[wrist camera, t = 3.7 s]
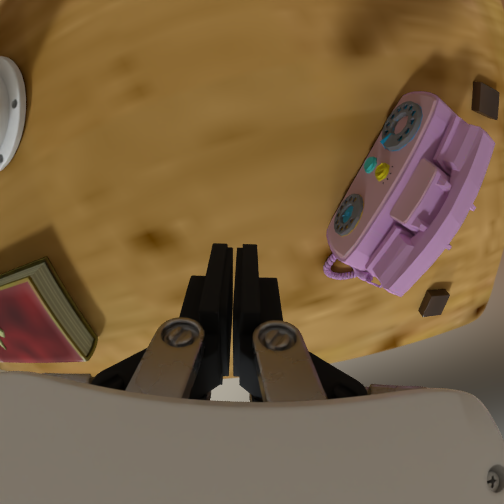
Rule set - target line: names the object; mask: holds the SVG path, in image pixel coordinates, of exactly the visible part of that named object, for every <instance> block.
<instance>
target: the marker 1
mask: <svg viewBox="0 0 504 504" xmlns="http://www.w3.org/2000/svg"><path fill="white" fill-rule="evenodd" d="M449 296H450V294H449V293H448V292H447V291H446V290H445V289H440V290H427V292H426V294H425V297H424V299H423V301H422V304H421V306H420V308H419V312H420V314H421V315H422V317H427V316H436V315H441V313H442V311H443V309H444V307H445V305H446V303H447V300H448V298H449Z"/></svg>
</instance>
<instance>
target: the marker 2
mask: <svg viewBox="0 0 504 504" xmlns="http://www.w3.org/2000/svg"><path fill="white" fill-rule="evenodd" d="M498 106H499V92H498V91H496V90H494V89H493V88H491V87H489V86H487V85H485V84H483V83H481V82H473V99H472V110H473V111H475V112H477V113H479V114H482V115H484V116H486V117H488V118H491V119H495V120H497V118H498Z"/></svg>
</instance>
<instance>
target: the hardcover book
mask: <svg viewBox="0 0 504 504" xmlns="http://www.w3.org/2000/svg"><path fill="white" fill-rule="evenodd" d="M97 341H98V337H97V336H96V334H95V333H94V332H93V330H92V329H91V327H90V326H89V325H88V323H87V322H86V320H85V319H84V317H83V316H82V314H81V313H80V311H79V310H78V308H77V307H76V305H75V304H74V302H73V300H72V299H71V297H70V296H69V294H68V292H67V291H66V289H65V287H64V286H63V284H62V282H61V281H60V279H59V277H58V276H57V274H56V272H55V270H54V269H53V267H52V265H51V263H50V261H49V259H48V258H47V257H44V258H42V259H39V260H36V261H34V262H31V263H29V264H26V265H23V266H21V267H18V268H16V269H13V270H11V271H8V272H6V273H3V274H1V275H0V362H18V363H52V362H82V361H88V360H89V359H90V358H91V356H92V355H93V353H94V351H95V348H96V345H97Z"/></svg>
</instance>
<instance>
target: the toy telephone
mask: <svg viewBox="0 0 504 504" xmlns="http://www.w3.org/2000/svg"><path fill="white" fill-rule="evenodd" d="M494 146H495V142H494V141H493V140H492V139H491V137H490V136H489V135H488V134H487V132H485V131H484V130H483V129H482V128H480V127H478V126H474V125H470V124H467V123H466V122H465V121H464V120H462V119H461V118H459V117H458V116H457V115H456V114H455V113H454V112H453V111H452V110H451V109H450V108H449V107H448V106H447V105H446V104H445V103H444V102H443V101H442V100H441V99H440V98H439V97H438V96H437V95H435V94H433V93H430V92H424V91H414V92H410V93H407V94H405V95H403V96H402V97H401V99H400V101H399V102H398V104H397V105H396V107H395V108H394V110H393V111H392V113H391V114H390V116H389V117H388V119H387V121H386V122H385V124H384V127H383V130H382V132H381V133H380V135H379V137H378V139H377V141H376V142H375V144H374V146H373V148H372V149H371V151H370V153H369V155H368V156H367V158H366V160H365V161H364V163H363V165H362V167H361V169H360V171H359V172H358V174H357V176H356V177H355V179H354V181H353V183H352V184H351V186H350V188H349V190H348V192H347V193H346V195H345V197H344V199H343V201H342V202H341V204H340V206H339V208H338V209H337V211H336V213H335V215H334V216H333V218H332V220H331V222H330V224H329V226H328V229H327V240H328V244H329V246H330V249H331V251H332V252H333V254H331V255H330V257H329V258H328V259H327V261H326V262H325V265H324V269H323V271H324V273H325V275H327V276H328V277H330V278H333V279H337V280H338V279H339V280H342V279H343V280H344V279H350V278H353V277H356V276H358V277H359V279H361V280H363V281H367V283H370V284H372V285H375V286H377V287H380V288H381V287H382V286H383V288H384V289H386V290H387V291H388V292H390V293H392V294H395V295H397V296H400V297H401V296H402V295H403V294H404V293H405V292H406V291H407V290H408V289H409V288H410V287H411V286H412V285H413V284H414V283H415V282H416V281H417V280H418V279H419V278H420V277H421V276H422V275H423V274H424V273H425V272H426V271H427V270H428V268H429V267H430V266H431V265H432V264H433V263H434V262H435V261H436V259H437V258H438V257H439V256H440V254H441V253H442V252H443V251H444V249H445V248H446V249H448V250H450V249H451V245H450V244H449V243H450V241H451V240H452V238H453V237H454V236H455V234H456V233H457V231H458V230H459V228H460V227H461V225H462V223H463V221H464V219H465V218H466V216H467V214H468V212H469V210H472V211H474V210H475V208H476V207H475V206H474V205H473V202H474V200H475V198H476V196H477V194H478V192H479V189H480V187H481V184H482V181H483V179H484V176H485V173H486V170H487V167H488V164H489V161H490V158H491V155H492V152H493V149H494ZM332 256H333V257H332ZM336 259H338V260H339V261H341V262H343V263H345V264H347V265H350V267H352V268H353V270H354V271H351V274H350V272H348V276H347V272H345V273H337V272H336V273H335V272H333V271H331V270H330V268H331V265H333V262H335V260H336ZM330 260H331V261H333V262H331V261H330ZM325 266H326V267H325ZM327 270H328V271H327ZM328 272H329V273H328ZM353 272H354V273H353ZM337 276H338V277H337ZM344 276H345V277H344ZM373 276H374V277H376V278H378V280H379V281H380V283H381V285H377V284H375V283H372V282H371V281H372V280H373ZM369 279H370V280H369Z"/></svg>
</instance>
